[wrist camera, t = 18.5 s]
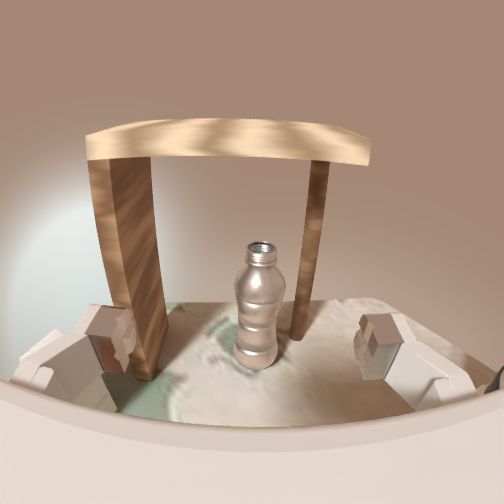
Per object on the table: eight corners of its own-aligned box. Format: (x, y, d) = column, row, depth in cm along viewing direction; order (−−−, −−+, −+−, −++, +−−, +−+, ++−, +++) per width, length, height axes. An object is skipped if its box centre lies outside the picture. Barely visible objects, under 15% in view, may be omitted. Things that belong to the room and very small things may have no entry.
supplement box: (85, 386, 39) (56, 325, 33) (119, 410, 36) (91, 349, 30) (55, 416, 33) (16, 357, 27) (88, 444, 30) (48, 389, 24)
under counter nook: (306, 330, 53) (336, 125, 37) (317, 387, 42) (371, 140, 26) (155, 324, 53) (131, 122, 36) (136, 379, 41) (85, 136, 25)
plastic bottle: (237, 343, 50) (238, 233, 41) (278, 348, 49) (290, 238, 40) (229, 372, 44) (227, 257, 35) (274, 378, 44) (287, 263, 34)
